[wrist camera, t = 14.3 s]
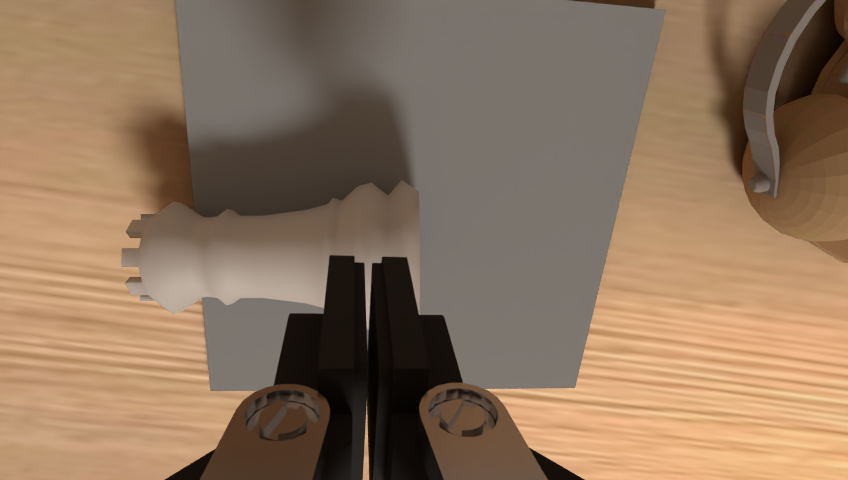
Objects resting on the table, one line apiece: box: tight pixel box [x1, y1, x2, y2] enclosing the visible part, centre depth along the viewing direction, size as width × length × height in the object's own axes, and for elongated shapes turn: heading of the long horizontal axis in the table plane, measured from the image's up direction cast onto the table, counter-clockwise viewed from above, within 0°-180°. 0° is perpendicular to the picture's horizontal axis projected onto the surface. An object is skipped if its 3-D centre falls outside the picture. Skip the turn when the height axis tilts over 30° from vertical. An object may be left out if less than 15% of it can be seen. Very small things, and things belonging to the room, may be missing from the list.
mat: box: [175, 0, 666, 391], centre depth 18 cm, size 14×14×1 cm
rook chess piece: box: [122, 180, 420, 330], centre depth 16 cm, size 4×4×8 cm
